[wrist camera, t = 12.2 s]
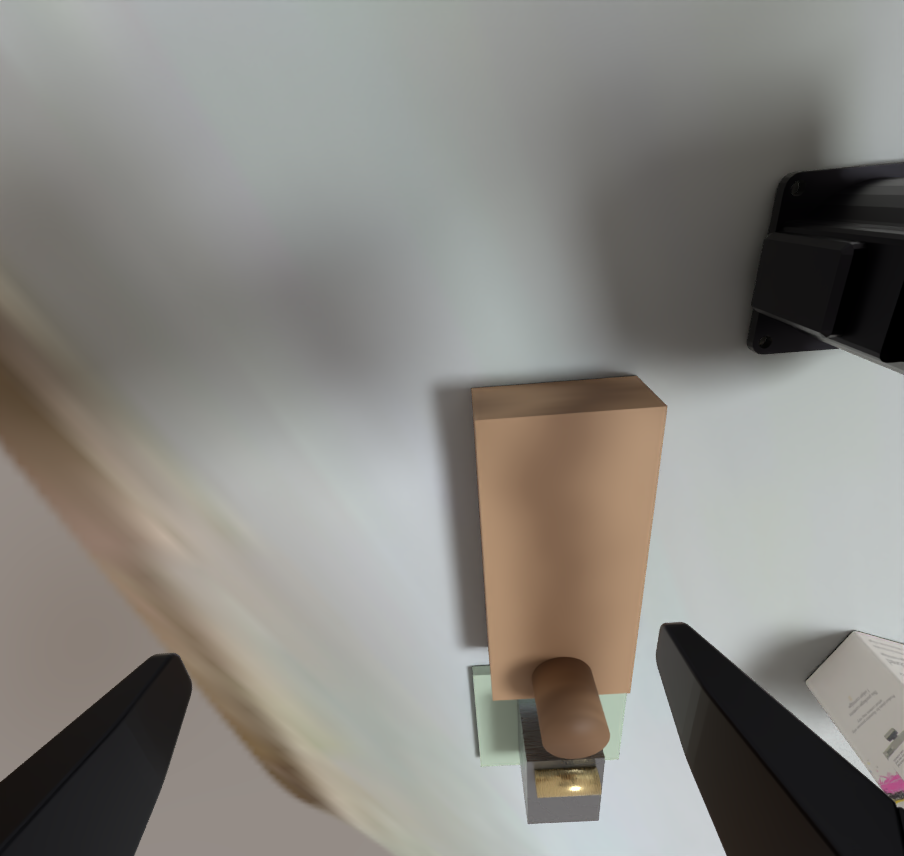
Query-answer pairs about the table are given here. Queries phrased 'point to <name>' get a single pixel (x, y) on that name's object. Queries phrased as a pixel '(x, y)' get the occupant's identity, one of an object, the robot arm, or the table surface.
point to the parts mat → (502, 723)
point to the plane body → (566, 544)
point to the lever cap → (555, 776)
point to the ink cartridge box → (867, 704)
